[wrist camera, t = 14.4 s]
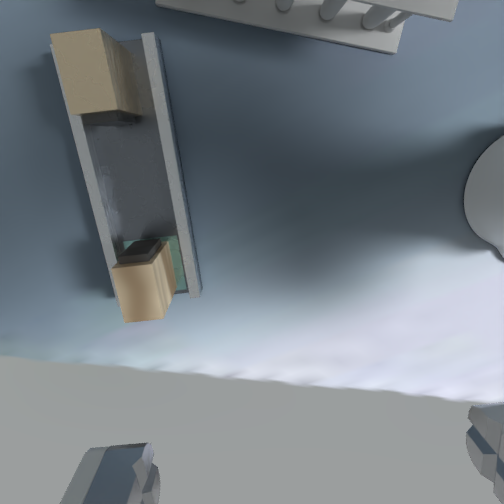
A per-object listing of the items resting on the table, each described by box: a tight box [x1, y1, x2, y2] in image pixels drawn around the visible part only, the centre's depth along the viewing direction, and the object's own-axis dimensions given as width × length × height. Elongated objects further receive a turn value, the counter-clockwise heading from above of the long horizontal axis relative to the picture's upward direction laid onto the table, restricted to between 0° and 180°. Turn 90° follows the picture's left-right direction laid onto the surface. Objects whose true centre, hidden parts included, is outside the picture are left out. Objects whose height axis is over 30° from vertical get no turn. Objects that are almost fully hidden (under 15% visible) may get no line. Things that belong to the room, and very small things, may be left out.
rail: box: [50, 28, 202, 306], centre depth 36 cm, size 10×28×9 cm, turn 6°
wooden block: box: [111, 238, 177, 323], centre depth 38 cm, size 4×7×8 cm, turn 6°
